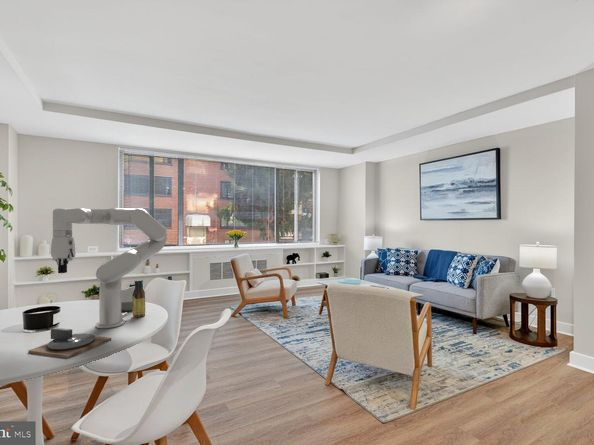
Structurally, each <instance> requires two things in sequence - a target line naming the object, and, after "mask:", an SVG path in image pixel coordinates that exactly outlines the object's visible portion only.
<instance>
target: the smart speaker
mask: <svg viewBox="0 0 594 445" xmlns="http://www.w3.org/2000/svg"><path fill="white" fill-rule="evenodd" d="M134 289H135V285H133V286H129V287H127V288H124V289H121V312H125V311H126V312H133V302H132V295H133V292H134Z"/></svg>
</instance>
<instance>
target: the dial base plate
mask: <svg viewBox="0 0 594 445" xmlns="http://www.w3.org/2000/svg"><path fill="white" fill-rule="evenodd" d="M94 336H95V340H94V342H92V343H91V344H88V345H86V346H83V347H80V348H76V349H70V350H62V351H55V350H50V349H48V343H44V344H42V345H40V346H36V347H34V348H31V349H29V350H28V352H27V353H28V354H33V355H41V356H47V357H54V358H55V357H56V358H60V359H61V358H62V359H70V358H73V357H76V356H78V355H80V354H82V353H84V352H87V351H89V350H91V349H94V348H96V347H99V346H101V345H103V344H105V342H106V343H108V342H110V341H112V337H110V336H99V335H94Z"/></svg>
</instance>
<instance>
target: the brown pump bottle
mask: <svg viewBox="0 0 594 445" xmlns="http://www.w3.org/2000/svg"><path fill="white" fill-rule="evenodd" d="M143 282H144V280H143V279H135V280H134V286H135V289H134V292H133V295H132V302H133V311H132V317H133V318H142V317H144V316H145V315H146V293H145V292H146V291H145V290H144V288H143Z"/></svg>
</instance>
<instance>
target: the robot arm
mask: <svg viewBox="0 0 594 445" xmlns="http://www.w3.org/2000/svg"><path fill="white" fill-rule="evenodd" d="M73 224H78V225H79V224H80V225H85V224H91V225H93V224H94V225H95V224H96V225H98V224H99V225H100V224H101V225H110V226H135V227H136V228H138V229H139V230H140V231H141V232H142V233H143V234H145V235H146V236H147V237H148V239H147V240H145V241H144V242H142V243H140V244H139V245H137V246H135V247H133V248H131V249H129V250H125V251H124V252H122V253H121V254H119V255H117V256H116V257H114V258H112V259H110V260H108V261H105V262H104V263H102V264H101V265H99V267H98V268H97V270H96V272H95V277H96V280H98V282H99V294H98V295H99V305H98V306H99V309H98V310H99V312H98V316H99V317H98V318H99V321H98V322H96V324H95V328H97V329H113V328H117V327H121V326H123V325H125V323H126V321H125V319H124V317H127V316H129V313H128V311H126V312H122V310H121V290H122V281H123V280H122V279H123V277H124V276H126V275H128V274H129V273H131V272H133V271H134V270H136V269H137V268H139V266H140V265H141V264H142V263H144V262H145V261H147V260H149V259H150V258H152V257H154V256H155V255H157V254H158V253H160V251H161V250H162V249H163V248H164V247H165V245H166V243H167V238H168V237H167V236H168V233H167V232H168V231H167V228H166V226H165V225H163V224H162V223H160V222H159V221H158V220H157V219H155V218H154V217H153V216H152V215H151V214H150V213H149V212H148V211H147V210H146V209H144V208H141V207H140V208H139V207H138V208H127V207H126V208H125V207H123V208H122V207H120V208H119V207H112V208H106V209H105V208H103V209H100V208H98V209H95V208H82V207H77V208H63V207H62V208H59V207H58V208H55V209H53V210H52V238H51V245H50V256H51V258H52V261H55V262H56V265H57V267H58V268H57V274H67V273H68V265H69V262H71V261H73V258H75V257H76V244H75V239H74V236H73Z"/></svg>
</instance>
